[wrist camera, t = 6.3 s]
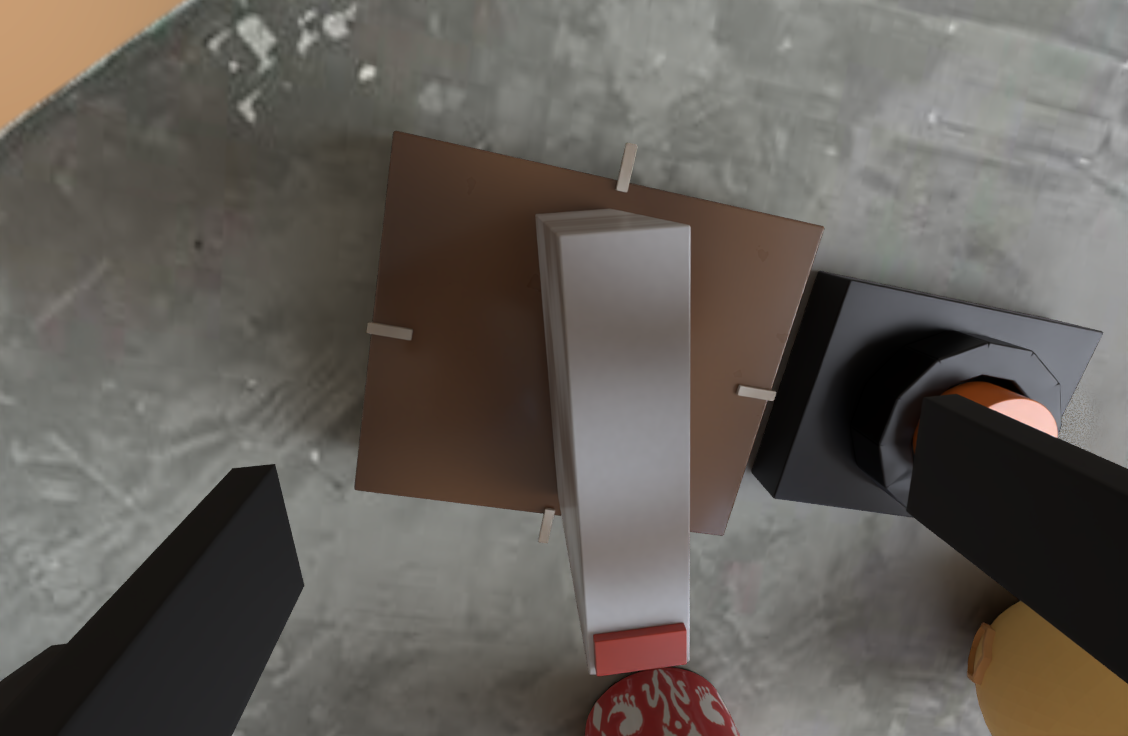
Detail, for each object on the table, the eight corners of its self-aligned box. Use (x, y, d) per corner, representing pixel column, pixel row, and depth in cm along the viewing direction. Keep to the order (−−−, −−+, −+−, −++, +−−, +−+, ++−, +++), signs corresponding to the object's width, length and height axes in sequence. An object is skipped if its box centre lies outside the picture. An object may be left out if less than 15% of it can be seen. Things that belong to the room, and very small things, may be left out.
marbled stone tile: (535, 214, 17) (559, 236, 10) (611, 208, 18) (695, 225, 10) (557, 496, 21) (590, 684, 13) (622, 488, 21) (693, 670, 13)
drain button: (896, 472, 21) (929, 496, 19) (937, 372, 20) (976, 389, 18) (987, 486, 22) (1027, 510, 20) (1032, 390, 21) (1078, 408, 19)
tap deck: (367, 476, 23) (346, 520, 20) (410, 103, 19) (392, 87, 16) (694, 518, 25) (719, 563, 22) (794, 192, 21) (842, 193, 18)
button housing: (750, 472, 25) (795, 524, 21) (817, 270, 22) (882, 287, 18) (966, 503, 26) (1044, 556, 23) (1052, 319, 24) (1156, 344, 20)
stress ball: (991, 525, 27) (1255, 709, 17) (1143, 569, 29) (1457, 756, 19) (891, 684, 29) (1075, 919, 20) (1037, 715, 31) (1269, 943, 22)
